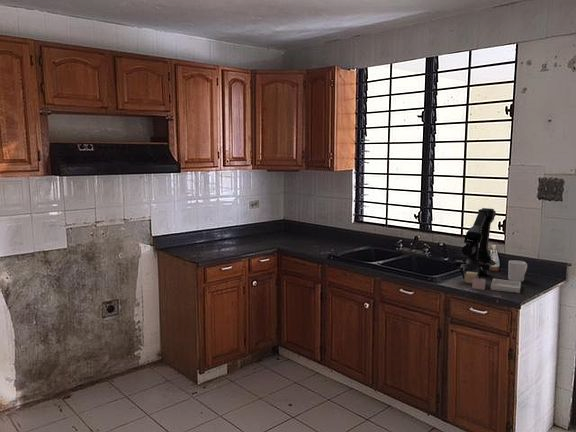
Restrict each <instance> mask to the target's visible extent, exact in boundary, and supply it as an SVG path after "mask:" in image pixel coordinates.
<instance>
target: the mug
mask: <svg viewBox="0 0 576 432" xmlns="http://www.w3.org/2000/svg"><path fill="white" fill-rule="evenodd" d="M527 270H528V263H527V262H526V261H523V260H515V259H514V260H508V270H507V272H508V275H507V276H508V278H507V280H509V281H518V282H521V283H522V282H524V281H525V275H526V272H527Z"/></svg>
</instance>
